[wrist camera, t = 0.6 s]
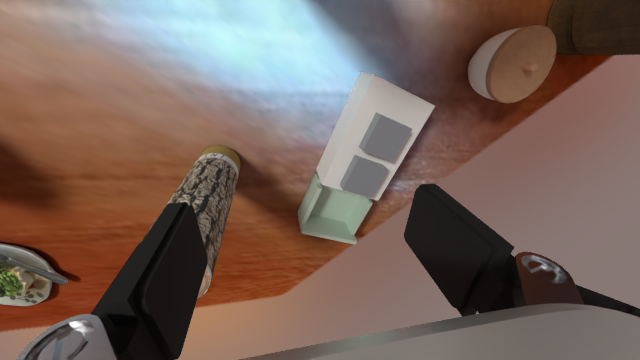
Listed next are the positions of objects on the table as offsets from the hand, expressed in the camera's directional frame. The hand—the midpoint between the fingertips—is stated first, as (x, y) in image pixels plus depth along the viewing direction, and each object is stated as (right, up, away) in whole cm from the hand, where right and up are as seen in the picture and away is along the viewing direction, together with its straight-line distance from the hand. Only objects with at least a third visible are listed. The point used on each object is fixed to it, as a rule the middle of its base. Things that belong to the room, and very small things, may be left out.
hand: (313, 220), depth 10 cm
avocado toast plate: (-60, -15, +34) cm, 71 cm away
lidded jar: (+30, +23, +32) cm, 49 cm away
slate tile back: (+8, +3, +31) cm, 32 cm away
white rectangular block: (+9, +10, +34) cm, 37 cm away
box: (+3, -2, +40) cm, 40 cm away
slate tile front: (+11, +9, +28) cm, 31 cm away
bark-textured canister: (-17, +5, +32) cm, 36 cm away
